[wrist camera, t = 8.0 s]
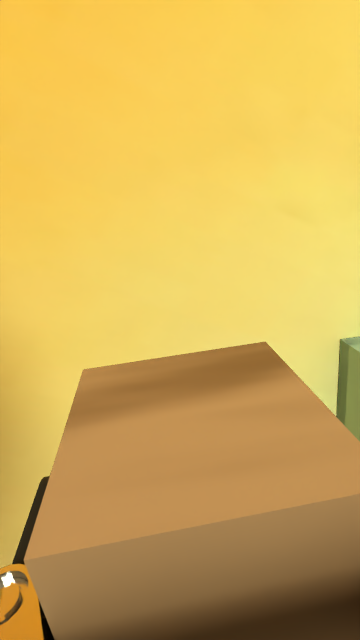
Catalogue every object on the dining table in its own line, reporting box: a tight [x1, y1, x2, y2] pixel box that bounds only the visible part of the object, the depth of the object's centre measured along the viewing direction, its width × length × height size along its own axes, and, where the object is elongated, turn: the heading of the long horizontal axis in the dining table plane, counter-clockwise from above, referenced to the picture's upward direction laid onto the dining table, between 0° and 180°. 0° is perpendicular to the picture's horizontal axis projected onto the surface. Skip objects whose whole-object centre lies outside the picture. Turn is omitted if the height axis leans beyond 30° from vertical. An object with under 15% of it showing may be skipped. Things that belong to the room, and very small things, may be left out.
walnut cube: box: [24, 342, 360, 640], centre depth 9 cm, size 6×6×6 cm
